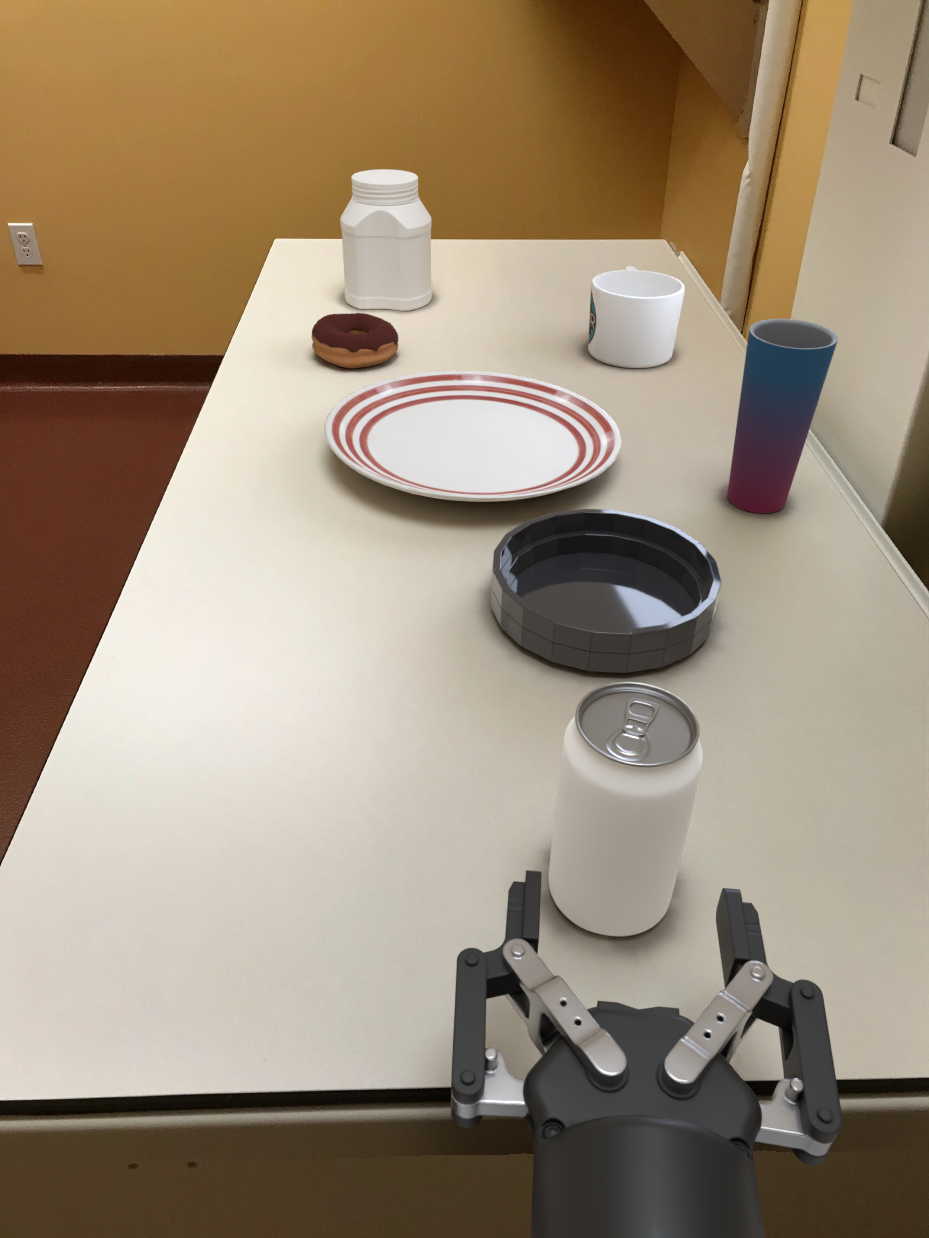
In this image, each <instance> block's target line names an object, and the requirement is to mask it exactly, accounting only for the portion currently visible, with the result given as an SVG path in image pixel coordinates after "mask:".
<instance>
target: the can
mask: <svg viewBox="0 0 929 1238" xmlns="http://www.w3.org/2000/svg"><path fill="white" fill-rule="evenodd" d="M577 704H578V705H577V706H576V708H575V713H574V716H573V717H572V718H571V720H570V721H569V722H568V725H567V727H566V729H565V733H564V736H563V741H562V748H561V754H560V755H561V756H560V765H559V772H558V781H557V791H556V800H555V809H554V819H553V827H552V837H551V847H550V848H551V849H550V857H549V858H550V859H549V868H548V887H549V891H550V895H551V897H552V899H553V902H554V903H555V905H556V907H557V908H558V909H559V910H560V912H561V913H562V914H563V915H564V916H565V917H566V918H567V919H568V920H570V921H571V922H572V923H573V924H575V925H576V926H578V927H580V928H581V929H583V930H585V931H589V932H591V933H594V934H598V935H603V936H610V937H629V936H634V935H637V934H641V933H644V932H646V931H648V930H649V929H651V928H653V927H654V926H656V925H657V924H658V923H660V921H661V920H662V919H663V918H664V916H665V915H666V913H667V912H668V910H669V907H670V905H671V901H672V898H673V894H674V890H675V886H676V881H677V877H678V873H679V868H680V866H681V865H680V864H681V861H682V856H683V852H684V847H685V844H686V840H687V835H688V831H689V826H690V823H691V817H692V813H693V809H694V805H695V799H696V796H697V792H698V787H699V782H700V778H701V772H702V768H703V758H704V757H703V755H704V754H703V747H702V744H701V740H700V724H699V720H698V718H697V716H696V714H695V712H694V711H693V709H692V708H691V707H690V706H689V705H688V703H686V702H685V701H684V700H683V699H682V698H680V697H679V696H678V695H676V694H675V693H673V692H671V691H669V690H667V689H665V688H662V687H659V686H657V685H653V684H650V683H645V682H638V681H619V682H618V681H616V682H611V683H606V684H603V685H600V686H598V687H595V688H594V689H592V690H591V691H589V692H588V693H586V694H585V695H584V696H583V697H582V698H581V700H579V702H578V703H577Z"/></svg>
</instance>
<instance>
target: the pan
mask: <svg viewBox="0 0 929 1238" xmlns="http://www.w3.org/2000/svg"><path fill="white" fill-rule="evenodd" d="M491 571H492V572H491V593H490V595H491V596H490V607H491V610H492V612H493V615H494V616H495V619H496V620H497V623H498V624H499V626H500V629H501V630H503V631H504V632H505V633H506V634H507V635H508V636H509V637H510V638H512V639H513V640H514V641H515V643H517V644H518V645H519V646H520V647H522V648H523V649H525V650H528V651H529V652H532V653H534V654H535V655H538V656H540V657H542V658H543V659H546V660H548V661H549V662H552V663H556V664H559V665H563V666H567V667H571V668H574V669H578V670H583V671H588V672H597V673H599V672H600V673H619V674H628V673H634V672H641V671H646V670H647V671H648V670H653V669H660V668H665V667H666V666H669V665H671V664H673V663H676V662H677V661H680V660H683V659H684V658H687V657H689V656H690V655H691V654H693V653H694V651H696V650H697V649H698V648H699V647H700V646H701V645H702V644H703V643H704V642H705V641H706V640H707V639H709V635H710V632H711V630H712V629H711V628H712V627H713V626H712V625H713V622H714V619H715V616H716V610H717V607H718V601H719V597H720V593H721V592H720V591H721V587H722V582H723V581H722V578H721V574H720V570H719V565H718V562H717V560H716V559H715V558H714V557H713V556H712V554H711V553H710V552H709V551H708V550H707V549H706V547H705V546H704V545H703V544H702V543H701V542H700V541H698V540H697V539H695V538H694V537H692V536H691V535H689V534H687V533H686V532H684V531H683V530H681V529H679V528H678V527H676V526H673V525H671V524H668V523H666V522H664V521H661V520H658V519H656V518H653V517H650V516H647V515H641V514H637V513H632V512H627V511H623V510H616V509H599V508H578V509H570V510H562V511H553V512H549V513H546V514H543V515H539V516H537V517H534V518H530V519H528V520H525V521H524V522H522V523H521V524H519V525H517V526H516V527H514V528H512V529H511V530H509V531H508V532H506V533H505V535H504V536H503V537H502V538H501V540H500V541H499V543H498V544H497V546H496V547H495V548H494V549H493V557H492V569H491Z"/></svg>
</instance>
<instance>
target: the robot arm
mask: <svg viewBox="0 0 929 1238" xmlns="http://www.w3.org/2000/svg"><path fill="white" fill-rule="evenodd" d="M542 875H543V874H542V871H541V870H531V869H530V870H529V869H525V875H524V876H525V878H524V881H517V880H514V881H512V883H511V885H510V887H509V888H508V891H507V905H506V919H505V920H506V921H505V935H504V940H503V942H502V944H501V945H500V946H498V947H497V948H495V949H493V950H489V951H483V950H481V949H479V948H476V947H467V948H465V949H463V950H461V951H460V952H459V954H458V955H457V957H456V968H455V969H456V970H455V990H454V991H455V993H454V1013H453V1031H452V1033H453V1035H452V1055H451V1075H450V1082H451V1083H450V1116H451V1119H452V1121H453V1122H454V1124H456V1125H457V1126H458V1127H461V1128H462V1129H471V1128H475V1127H476V1126H477V1125H478V1124H479V1123H480V1122H481V1121H482V1119H483V1116H486V1117H510V1118H523V1119H524V1121H525V1123H526V1125H527V1127H528V1129H529V1131H530V1134H531V1138H532V1142H533V1163H532V1186H531V1187H532V1189H531V1212H530V1213H531V1215H530V1216H531V1217H530V1238H766V1237H765V1236H766V1235H765V1229H764V1221H763V1215H762V1207H761V1201H760V1192H759V1186H758V1179H757V1171H756V1165H755V1158H754V1151H755V1143H760V1144H761V1143H762V1144H767V1145H768V1144H769V1145H774V1146H780V1147H785V1148H791V1149H792V1152H793V1154H794V1155H795V1157H796V1158H797V1159H798V1160H799V1161H800V1162H801V1163H802V1164H805V1165H807V1166H810V1167H816V1166H820V1165H821V1164H823V1163H824V1162H825V1160H826V1158H827V1156H828V1154H829V1152H830V1150H831V1148H832V1146H833V1144H834V1142H835V1140H836V1139H837V1137H838V1134H839V1132H840V1131H841V1128H842V1127H843V1120H844V1119H843V1114H842V1107H841V1100H840V1094H839V1088H838V1083H837V1075H836V1069H835V1063H834V1055H833V1051H832V1050H833V1049H832V1043H831V1037H830V1030H829V1025H828V1019H827V1018H828V1017H827V1011H826V1006H825V1005H826V1004H825V999H824V993H823V991H822V989H821V987H819V986H818V985H817V984H816V983H815V982H813V981H811V980H808V979H803V978H801V979H797V980H795V981H793V982H792V981H791V980H787V979H785V978H782V977H780V976H778V975H777V974H776V973H775V972H773V970H772V969H771V968H770V966H769V964H768V961H767V956H766V955H767V954H766V949H765V944H764V938H763V934H762V927H761V922H760V916H759V912H758V910H757V909H756V907H755V906H754V904H753V903H752V902H748V901H747V902H746V901H743V897H742V891H741V889H738V888H728V887H722V888H721V892H720V896H719V899H718V902H717V906H716V911H715V926H716V933H717V939H718V949H719V956H720V963H721V969H722V977H723V984H724V989H723V991H722V990H720V991H719V992H718V993H717V994H716V995H715V996H714V998H713V999H712V1000H711V1001H710V1003H708V1006H706V1008H705V1009H704V1010H703V1011H702V1013H701V1015H699V1017H698V1018H697V1020H696V1021H695V1022H694V1021H693V1020H691V1019H690V1018H689V1017H686V1016H684V1015H681V1014H680V1008H679V1007H669V1006H651V1007H646V1008H635V1007H633V1006H629V1005H626V1004H624V1003H620V1002H618V1001H617V1002H616V1001H607V1000H597V1002H596V1006H593V1007H589V1008H586V1007H585V1005H584V1004H583V1002H581V1000H580V999H579V997H578V996H577V995H576V993H575V992H574V991H573V989H571V987H570V985H569V984H568V983H567V982H566V980H565V979H564V978H563V977H562V976H560V975H558V974H557V975H555V974H553V972H552V971H551V970H550V969H549V967H548V966H547V964H546V963H545V962H544V961H543V959H542V958H541V957H540V955H539V954H538V953H539V944H540V927H541V926H540V925H541V923H540V922H541V903H542V902H541V900H542ZM501 996H505V998H506V999H507V1001H508V1002H509V1003H510V1005H511V1006H512V1008H513V1010H515V1012H516V1014H517V1015H518V1016H519V1018H520V1019H521V1020H522V1022H523V1023H524V1025H525V1028H526V1030H527V1034H528V1036H529V1038H530V1040H531V1043H532V1044H533V1045H534V1047H536V1049H537V1050H538V1052H539V1053H540V1055H541V1056H540V1058H539V1059H538V1060H537V1062H535V1063H534V1065H533V1066H532V1067H531V1068H530V1069H529V1071H528V1072H527V1074H526V1076H525V1079H520V1078H517V1077H515V1076H514V1075H513V1074H512V1073H511V1072H510V1071H509V1069H508V1066H507V1065H508V1064H507V1059H506V1057H505V1055H504V1054H503V1053H502V1052H501V1051H499V1050H497V1048H494V1047H491V1046H490V1047H486V1045H487V1044H486V1042H487V1041H486V1040H487V1000H489V999H493V998H498V997H501ZM758 1020H760V1021H762V1022H765V1023H767V1024H769V1025H772V1026H774V1027H777V1028H778V1034H779V1036H778V1037H779V1045H780V1053H781V1054H780V1055H781V1061H782V1072H783V1079H781V1080H779V1081H778V1082H777V1085H776V1086H775V1089H774V1091H773V1093H772V1096H771V1099H770V1101H769V1102H768V1103H764V1104H761V1103H760V1101H759V1099H758V1097H757V1095H756V1094H755V1092H754V1091H753V1090H752V1088H751V1087H750V1086H749V1085H748V1084H747V1083H746V1081H745V1080H744V1079H743V1078H742V1077H741V1075H740V1074H739V1073H738V1071H737V1070H736V1069H735V1068H734V1067H733V1066H732V1064H731V1063H730V1062H731V1060H732V1059H733V1058H734V1055H735V1054H736V1052H737V1050H738V1048H739V1046H740V1045H741V1043H743V1041H744V1039H745V1038H746V1037H747V1035H748V1034H749V1032H750V1031H751V1029H752V1028H753V1026H754V1025H755V1024H756V1023H757V1022H758Z"/></svg>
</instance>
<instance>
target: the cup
mask: <svg viewBox="0 0 929 1238" xmlns="http://www.w3.org/2000/svg"><path fill="white" fill-rule="evenodd" d="M747 335H748V336H747V342H746V343H747V344H746V350H745V357H744V367H743V372H742V380H741V388H740V396H739V404H738V410H737V411H738V412H737V418H736V427H735V434H734V443H733V449H732V456H731V463H730V472H729V480H728V487H727V494H726V496H727V499H728V501H729V503H731V504H732V505H733V506H735V507H736V508H738V509H740V510H743V511H744V512H745V511H746V512H749V513H755V514H771V513H776V512H779V511H781V510H783V509H784V507H785V506H786V503H787V500H788V497H789V494H790V492H791V488H792V485H793V482H794V478H795V475H796V472H797V469H798V467H799V463H800V460H801V457H802V454H803V450H804V448H805V444H806V441H807V437H808V435H809V431H810V429H811V425H812V422H813V419H814V416H815V413H816V410H817V407H818V403H819V401H820V397H821V394H822V391H823V388H824V385H825V382H826V379H827V376H828V373H829V369H830V366H831V363H832V360H833V357H834V355H835V354H834V353H835V351H836V348H837V344H838V341H839V338H838V335H837V334H836V332H834V331H833V330H831V329H830V328H828V327H826V326H823V325H821V324H818V323H814V322H811V321H805V320H800V319H792V318H769V319H768V318H767V319H763V320H759V321H756V322H754V323H753V324H751V325H750V326H749V329H748V334H747Z"/></svg>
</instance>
